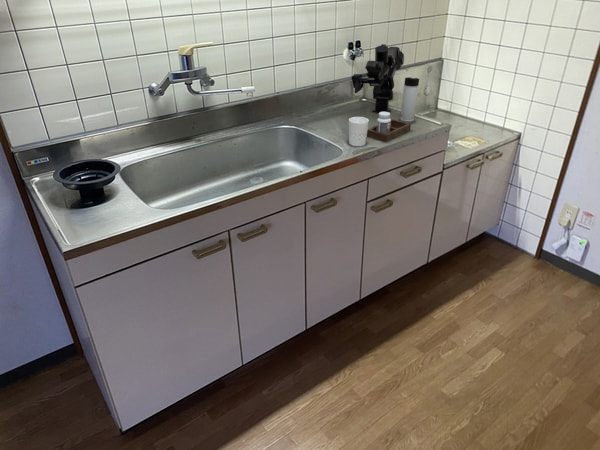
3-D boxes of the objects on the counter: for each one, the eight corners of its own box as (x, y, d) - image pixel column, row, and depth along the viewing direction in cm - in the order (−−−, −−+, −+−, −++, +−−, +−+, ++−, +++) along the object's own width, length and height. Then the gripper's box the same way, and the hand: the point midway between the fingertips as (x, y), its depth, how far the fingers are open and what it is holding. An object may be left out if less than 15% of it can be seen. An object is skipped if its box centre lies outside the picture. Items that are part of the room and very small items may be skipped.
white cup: (356, 138, 195) (357, 115, 189) (370, 143, 190) (372, 119, 185) (343, 143, 190) (344, 119, 185) (358, 148, 185) (360, 124, 180)
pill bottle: (391, 135, 197) (394, 112, 192) (385, 139, 193) (387, 116, 188) (380, 132, 200) (382, 110, 195) (373, 136, 196) (375, 113, 191)
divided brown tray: (391, 125, 208) (391, 118, 207) (410, 130, 202) (411, 124, 201) (366, 136, 197) (366, 129, 195) (385, 142, 191) (386, 135, 189)
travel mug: (398, 122, 211) (403, 78, 200) (401, 118, 216) (406, 74, 206) (412, 124, 209) (418, 79, 198) (415, 120, 214) (420, 75, 204)
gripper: (356, 56, 205) (341, 75, 197) (396, 56, 195) (382, 76, 187) (361, 78, 213) (346, 97, 205) (399, 79, 203) (386, 100, 195)
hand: (364, 92), depth 198 cm, fingers open, 9 cm apart
